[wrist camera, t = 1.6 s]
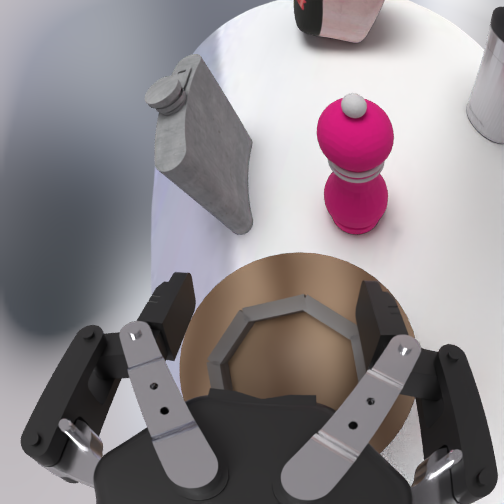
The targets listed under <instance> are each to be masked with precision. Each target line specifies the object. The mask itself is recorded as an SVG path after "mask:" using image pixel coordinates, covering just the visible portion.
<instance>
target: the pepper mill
mask: <svg viewBox="0 0 504 504" xmlns="http://www.w3.org/2000/svg"><path fill="white" fill-rule="evenodd" d="M317 139H318V142H319V145H320V148H321V150H322V152H323V153H324V155H325V156H326V157H327V158H328V163H329V166H330V168H331V170H332V171H333V172H332V173H331V175H330V176H329V178H328V180H327V182H326V185H325V189H324V200H325V205H326V208H327V210H328V212H329V213H330V215H331V216H332V218H333V220H334V222H335V224H336V225H337V226H338V227H339V228H340V229H341V230H343V231H345V232H347V233H350V234H363V233H366V232H368V231H370V230H371V229H373V228H374V227H375V226H376V224H377V223H378V221H379V219H380V218H381V216H382V215H383V214H384V212H385V210H386V207H387V201H388V190H387V187H386V184H385V181H384V179H383V177H382V176H381V175H380V172H381V171H382V169H383V166H384V161H385V160H386V159H387V157H388V155H389V154H390V152H391V150H392V146H393V140H394V134H393V128H392V124H391V122H390V120H389V118H388V116H387V114H386V113H385V112H384V111H383V110H382V109H381V108H380V107H379V106H378V105H376V104H375V103H373V102H371V101H369V100H367V99H364V98H363V97H362V96H360V95H358V94H355V93H352V94H348V95H346V96H345V97H344V98H342V99H338V100H336V101H335V102H333V103H331V104H330V105H329V106H328V107H326V109H325V110H324V111H323V112H322V114H321V116H320V118H319V120H318V125H317Z"/></svg>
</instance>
